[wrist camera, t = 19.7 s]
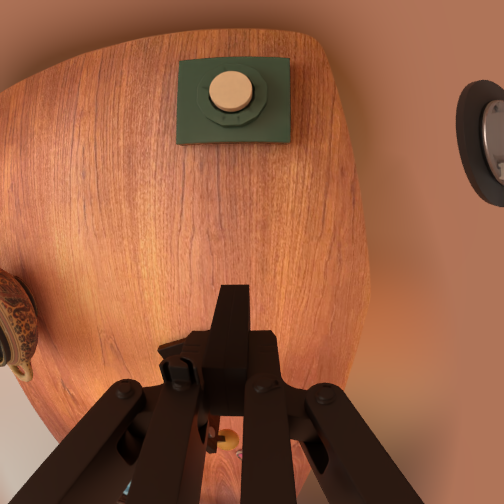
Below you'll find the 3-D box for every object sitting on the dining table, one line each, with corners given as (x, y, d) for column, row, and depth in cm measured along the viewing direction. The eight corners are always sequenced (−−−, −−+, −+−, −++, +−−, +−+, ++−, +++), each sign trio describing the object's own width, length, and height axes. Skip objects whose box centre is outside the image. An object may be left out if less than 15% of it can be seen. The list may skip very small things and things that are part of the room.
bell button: (252, 76, 23) (252, 70, 21) (252, 111, 24) (252, 108, 22) (212, 77, 23) (209, 71, 21) (211, 112, 24) (208, 109, 22)
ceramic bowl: (73, 349, 42) (51, 401, 28) (14, 352, 38) (-12, 394, 24) (32, 225, 34) (-18, 250, 20) (-26, 244, 30) (-71, 269, 16)
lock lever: (240, 427, 35) (244, 448, 33) (219, 431, 36) (223, 451, 33) (195, 417, 26) (199, 446, 23) (169, 421, 26) (172, 448, 24)
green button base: (287, 64, 25) (292, 51, 22) (287, 144, 29) (293, 141, 25) (183, 66, 25) (174, 55, 22) (181, 145, 28) (171, 143, 25)
